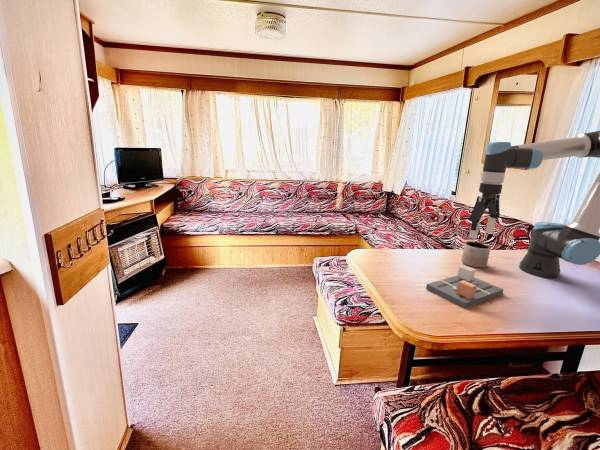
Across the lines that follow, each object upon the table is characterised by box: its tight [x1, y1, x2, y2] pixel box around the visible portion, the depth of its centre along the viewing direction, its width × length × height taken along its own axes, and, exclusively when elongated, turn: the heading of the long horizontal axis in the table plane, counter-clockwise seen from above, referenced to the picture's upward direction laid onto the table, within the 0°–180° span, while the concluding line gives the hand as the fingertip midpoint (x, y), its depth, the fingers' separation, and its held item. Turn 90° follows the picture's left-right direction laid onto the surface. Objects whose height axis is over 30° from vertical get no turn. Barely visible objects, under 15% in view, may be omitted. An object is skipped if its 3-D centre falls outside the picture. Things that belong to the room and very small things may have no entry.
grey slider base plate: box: [425, 275, 504, 309], centre depth 122 cm, size 24×16×3 cm, turn 121°
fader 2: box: [456, 280, 477, 299], centre depth 114 cm, size 3×5×5 cm, turn 31°
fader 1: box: [456, 264, 476, 281], centre depth 128 cm, size 3×5×5 cm, turn 31°
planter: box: [460, 240, 491, 269], centre depth 150 cm, size 11×11×10 cm
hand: (481, 235), depth 128 cm, fingers open, 13 cm apart
